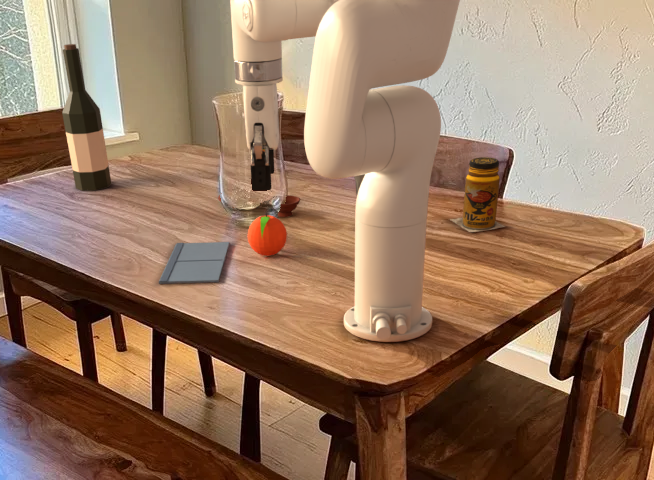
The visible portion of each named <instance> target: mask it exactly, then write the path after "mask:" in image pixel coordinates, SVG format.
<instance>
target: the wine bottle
mask: <svg viewBox="0 0 654 480" xmlns="http://www.w3.org/2000/svg"><path fill="white" fill-rule="evenodd" d="M63 47H64V48H63V49H62V54H63V58H64V59H63V60H64V66H65V71H66V77H67V83H68V89H69V93H68V95H67V98H66V100H65V104H64V107H63V109H62V112H61V114H62V119H63V125H64V130H65V135H66V141H67V146H68V147H67V148H68V151H69V158H70V164H71V169H72V175H73V180H74V185H75V189H76V190H80V191H81V192H85V191H86V192H88V191H99V190H104V189H108V188H109V187H110V186H111V185H112V179H111V172H110V166H109V165H110V164H109V160H108V152H107V147H106V146H107V145H106V140H105V133H104V127H103V121H102V115H101V108H100V107H99V106H98V104H97V103H96V102H95V101H94V99H93V98H92V97H91V95H90V94H89V92H88V91H87V89H86V86H85V85H86V84H85V79H84V73H83V67H82V61H81V55H80V54H81V53H80V49H79V48H78V47H77V44H76V43H68V44H64V45H63Z"/></svg>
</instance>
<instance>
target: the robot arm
mask: <svg viewBox="0 0 654 480" xmlns="http://www.w3.org/2000/svg"><path fill="white" fill-rule="evenodd" d="M460 1H461V0H229V3H230V18H231V34H232V35H231V36H232V48H233V49H232V52H233V67H234V83H235V84H237V85H240V86H242V92H243V93H242V97H243V98H242V99H243V114H244V116H243V117H244V127H245V138H246V146H247V149H248V150H249V151H250V152H251V153H250V155H251V156H250V158H251V159H250V161H251V162H250V163H251V164H250V179H251V184H252V190H253V191H267V190H270V191H271V190H272V175H274V174H275V152H274V151H276V150H277V149H278V147H279V143H280V120H279V99H278V87H277V84H280V83H282V82H283V81H284V80H283V78H284V77H283V47H282V42H283V41H284V42H285V41H288V40H296V39H304V38H314V37H315V39H314V45H313V51H312V59H311V68H310V73H309V74H310V75H309V76H310V77H309V84H308V92H307V100H306V108H305V116H304V127H303V142H304V148H305V149H304V150H305V154H306V158H307V162H308V163H309V166H310V167H311V169H312V171H314V172H315V173H316V174H317V175H318V176H320V177H322V178H325V179H328V180H339V179H340V180H342V179H347V178H352V177H353V178H354V176H358V175H363V174H365V176H364V178H363V181H362V183H361V185H360V188H359V191H358V195H357V196H356V200H355V208H354V209H355V212H354V213H355V215H354V216H355V217H354V225H355V226H354V305H353V306H352V307H350V308H348V309H347V310H346V312H345V313H344V315H343V325H344V326H343V327H344V328H345V329H346V331H348V332H349V333H350V334H351V335H353V336H355V337H358V338H360V339H364V340H367V341H373V342H381V343H395V342H396V343H397V342H406V341H409V340H414V339H416V338H419V337H422V336H424V335H425V334H427V333H428V332H429V331H430V330H431V328H432V326H433V316H432V313H431V312H430V311H429V309H427V308H425V306H423V293H424V276H425V257H426V242H427V241H426V240H427V225H428V223H427V222H428V214H429V213H428V211H429V197H430V188H431V187H430V186H431V178H432V172H433V167H434V163H435V159H436V154H437V150H438V147H439V142H440V139H441V131H442V130H441V129H442V118H441V112H440V108H439V105H438V103H437V101H436V100H435V98H434V97H433V96H432V94H430V93H429V92H428V91H427V90H425V89H423V88H421V87H418V86H414V85H405V84H408V83H413V82H417V81H421V80H425V79H427V78H429V77H432V76H434V75H435V74H436V73H438V72H439V70H440V69H441V68H442V65H443V63H444V61H445V59H446V56H447V52H448V49H449V47H450V42H451V39H452V35H453V30H454V26H455V22H456V19H457V14H458V10H459V5H460Z"/></svg>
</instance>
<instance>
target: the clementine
mask: <svg viewBox="0 0 654 480" xmlns="http://www.w3.org/2000/svg"><path fill="white" fill-rule="evenodd" d="M286 228H287V227H286V226H285V224H284V222H282V221H281V219H279V218H277V216H274V215H270V214H269V215H268V214H266V215H260V216H258V217H257V218H255V219H254V220H253V221H252V222H251V224H250V225H249V228H248V230H247V242H248V244H249V246H250V248H251V250H253V251H254V252H255V253H257V254H258V255H260V256H265V257H271V256H274V255H277V254H278V253H280V252H281V251H282V250H283V249H284V247H285V245H286V243H287V236H288V233H287V229H286Z"/></svg>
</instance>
